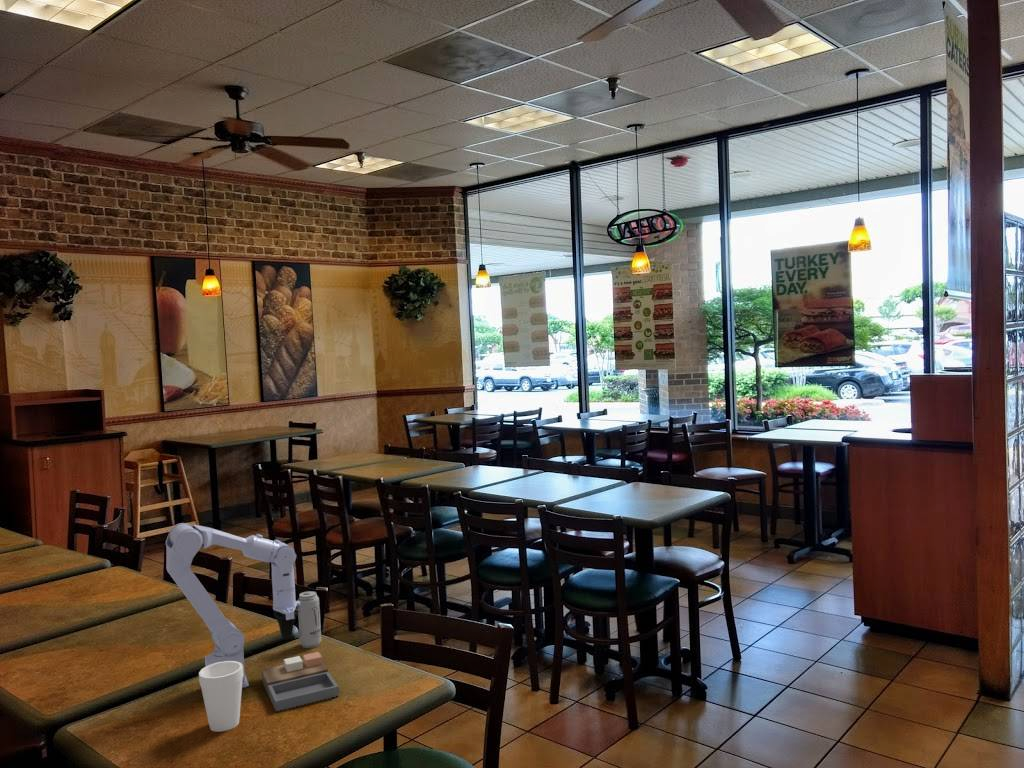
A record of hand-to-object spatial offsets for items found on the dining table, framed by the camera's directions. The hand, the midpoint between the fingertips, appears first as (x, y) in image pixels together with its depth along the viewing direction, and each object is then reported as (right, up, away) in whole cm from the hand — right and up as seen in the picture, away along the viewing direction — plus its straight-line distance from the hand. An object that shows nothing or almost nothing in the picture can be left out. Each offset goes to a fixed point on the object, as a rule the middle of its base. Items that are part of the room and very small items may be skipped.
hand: (286, 638), depth 206 cm
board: (+4, -9, -7) cm, 12 cm away
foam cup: (-6, -10, -30) cm, 32 cm away
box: (+9, -9, -16) cm, 21 cm away
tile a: (+4, -6, -6) cm, 9 cm away
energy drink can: (+2, -8, +17) cm, 19 cm away
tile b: (+8, -5, -4) cm, 11 cm away
